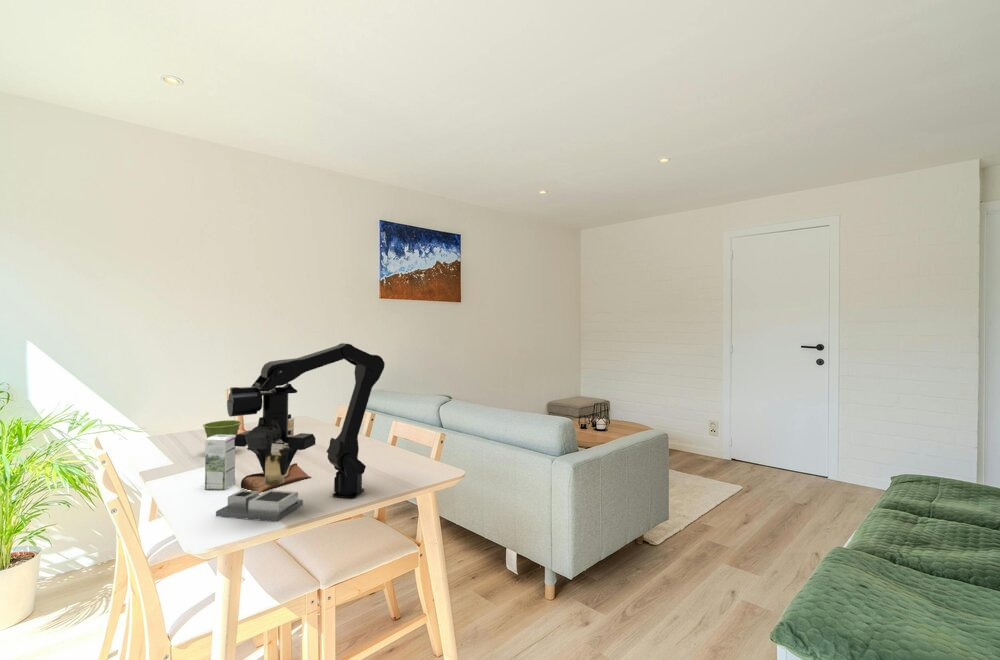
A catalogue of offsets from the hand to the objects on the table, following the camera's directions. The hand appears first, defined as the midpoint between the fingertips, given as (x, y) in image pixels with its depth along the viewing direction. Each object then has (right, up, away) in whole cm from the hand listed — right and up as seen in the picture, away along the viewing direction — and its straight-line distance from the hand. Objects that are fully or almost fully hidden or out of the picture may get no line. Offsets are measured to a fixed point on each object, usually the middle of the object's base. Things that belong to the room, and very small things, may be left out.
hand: (274, 474), depth 117 cm
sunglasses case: (-9, -10, +21) cm, 25 cm away
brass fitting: (0, -2, 0) cm, 2 cm away
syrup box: (-24, -9, +17) cm, 30 cm away
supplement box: (-21, -9, +48) cm, 54 cm away
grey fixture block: (-4, -9, 0) cm, 10 cm away
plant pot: (-42, -8, +49) cm, 65 cm away
